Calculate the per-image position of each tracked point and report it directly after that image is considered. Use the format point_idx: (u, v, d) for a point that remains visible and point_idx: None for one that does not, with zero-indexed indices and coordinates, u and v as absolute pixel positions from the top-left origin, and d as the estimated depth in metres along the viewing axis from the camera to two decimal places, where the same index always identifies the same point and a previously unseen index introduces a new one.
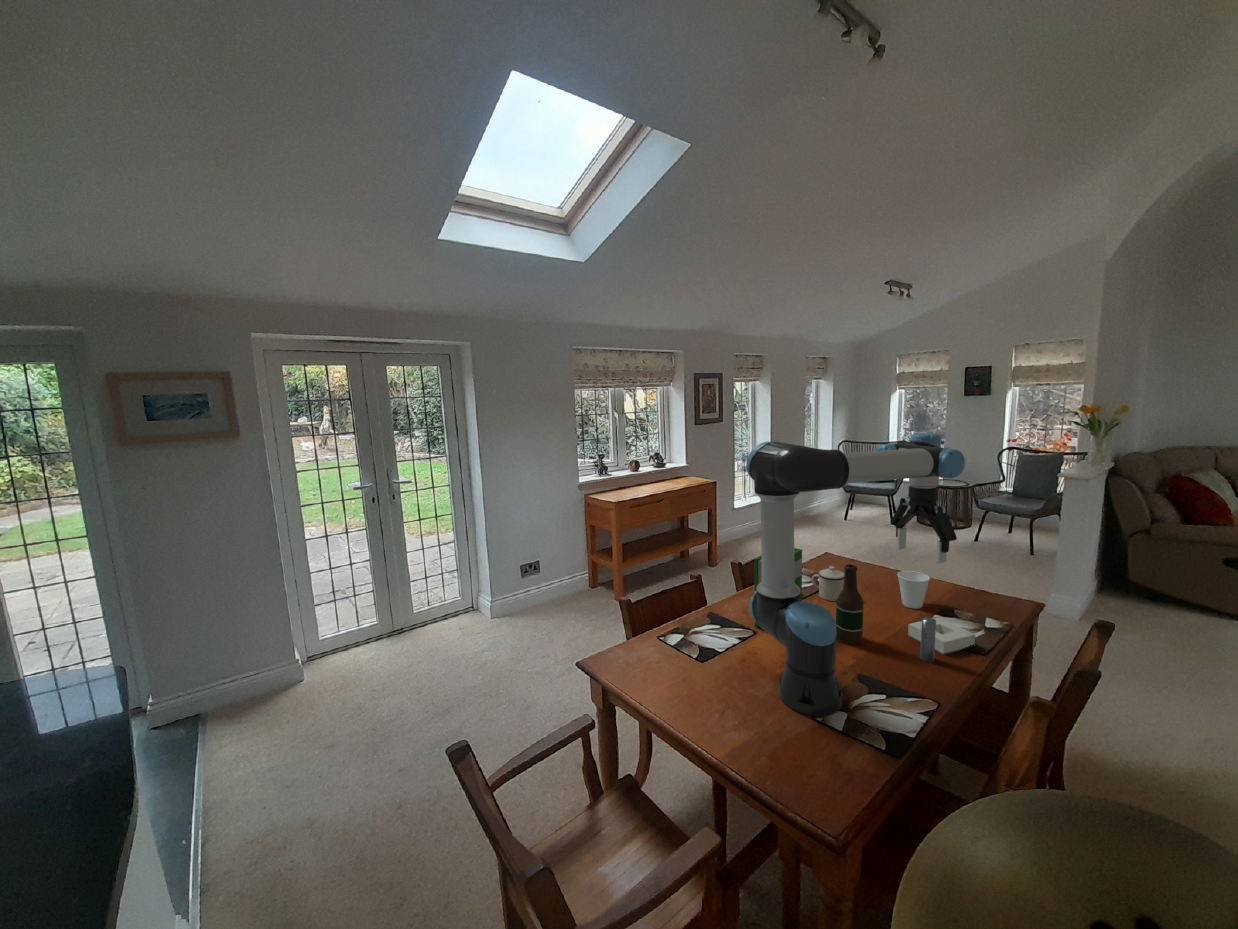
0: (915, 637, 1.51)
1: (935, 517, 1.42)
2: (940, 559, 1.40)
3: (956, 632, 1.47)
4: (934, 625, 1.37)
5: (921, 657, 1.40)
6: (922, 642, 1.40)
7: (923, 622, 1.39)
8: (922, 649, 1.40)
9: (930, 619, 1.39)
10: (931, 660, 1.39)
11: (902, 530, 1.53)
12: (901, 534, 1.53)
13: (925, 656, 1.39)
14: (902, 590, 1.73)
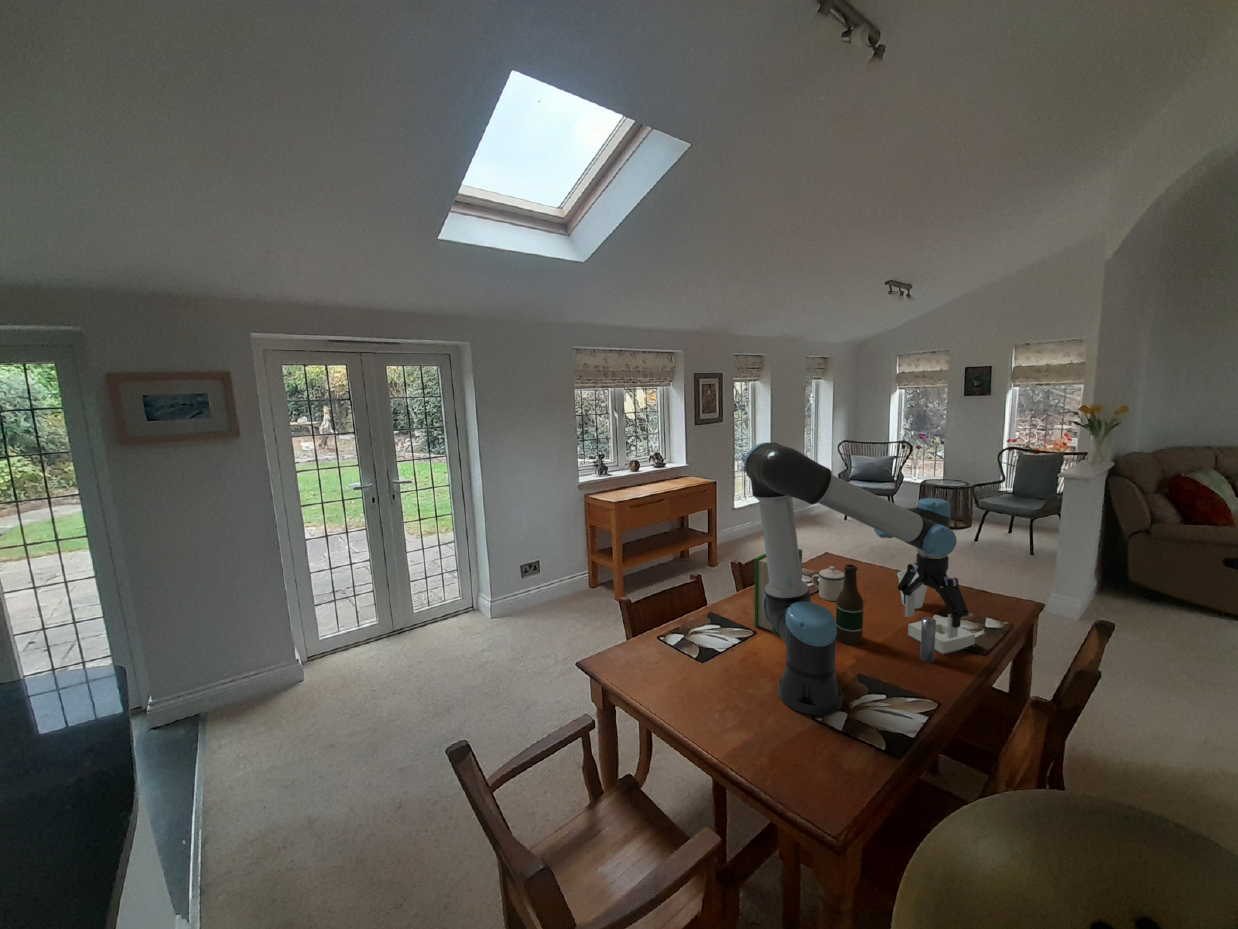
0: (915, 637, 1.51)
1: (945, 589, 1.34)
2: (951, 634, 1.32)
3: None
4: (934, 625, 1.37)
5: (921, 657, 1.40)
6: (922, 642, 1.40)
7: (923, 622, 1.39)
8: (922, 649, 1.40)
9: (930, 619, 1.39)
10: (931, 660, 1.39)
11: (910, 597, 1.44)
12: (909, 601, 1.44)
13: (925, 656, 1.39)
14: None
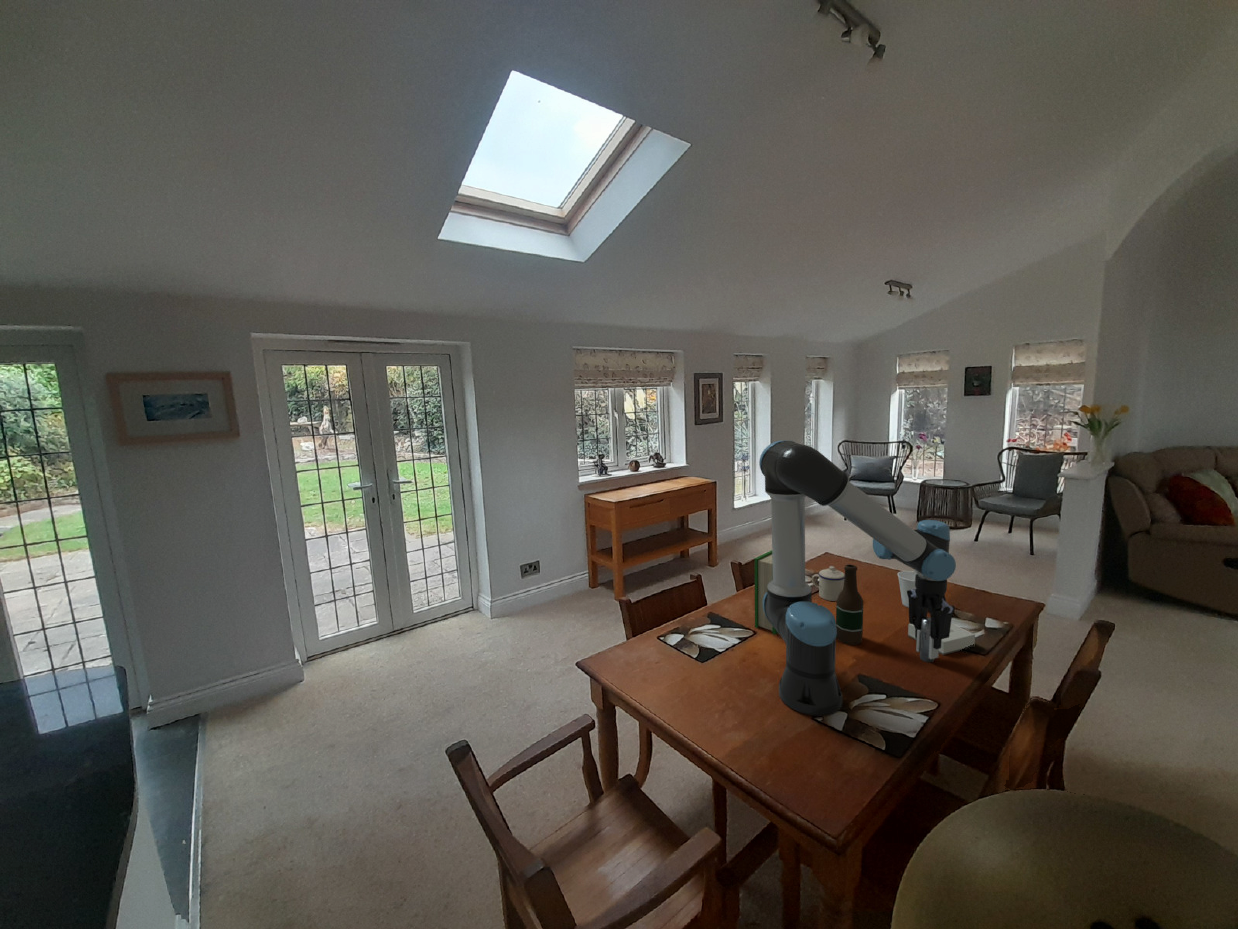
0: None
1: (938, 612, 1.36)
2: (932, 655, 1.38)
3: (956, 632, 1.47)
4: None
5: (921, 657, 1.40)
6: (921, 642, 1.40)
7: (923, 622, 1.39)
8: (922, 649, 1.40)
9: (930, 619, 1.39)
10: (931, 660, 1.39)
11: None
12: None
13: (925, 656, 1.39)
14: (902, 590, 1.73)
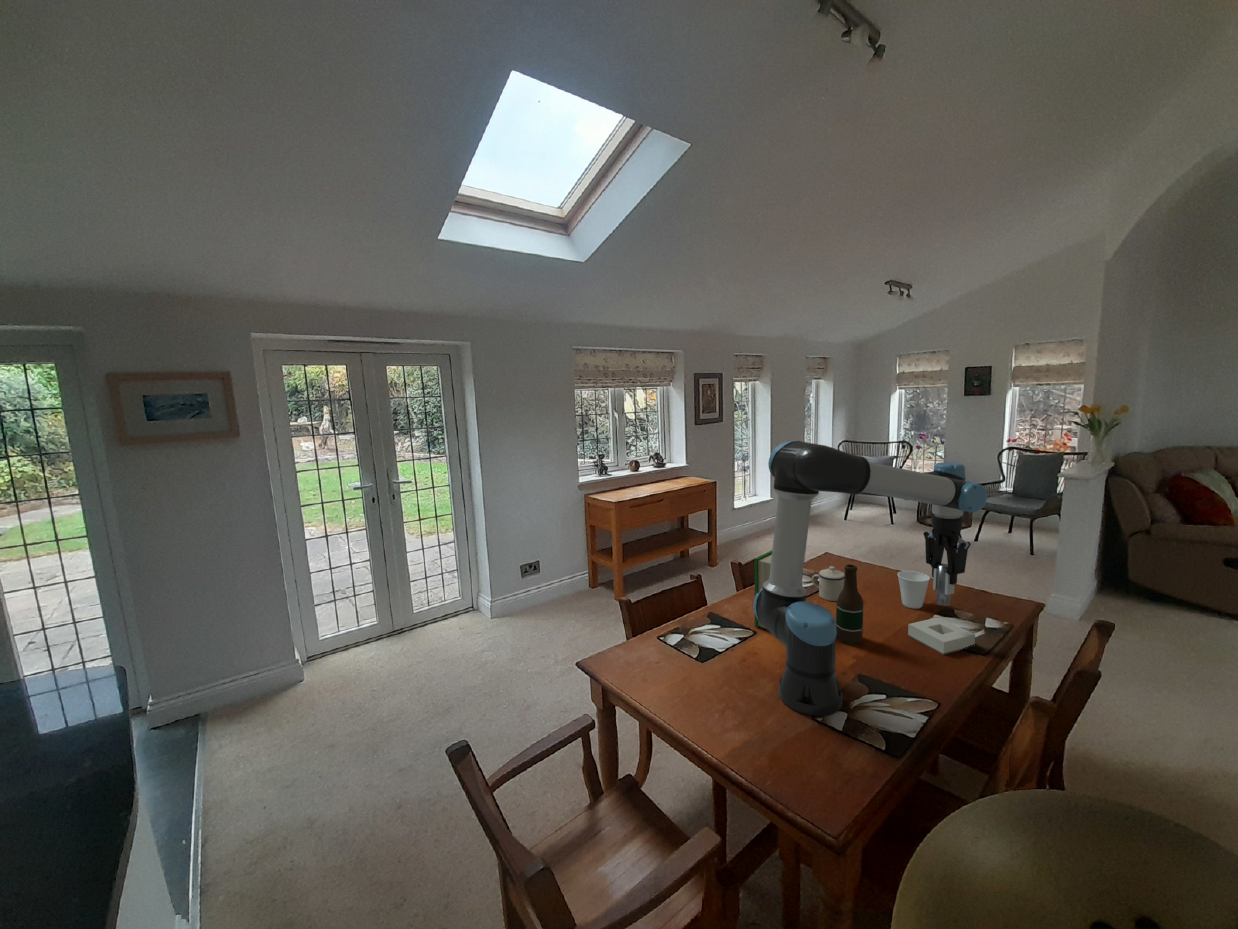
0: (915, 637, 1.51)
1: (954, 549, 1.43)
2: (948, 591, 1.45)
3: (956, 632, 1.47)
4: None
5: (937, 602, 1.48)
6: (938, 587, 1.47)
7: (939, 568, 1.46)
8: (938, 594, 1.47)
9: (946, 565, 1.46)
10: (947, 604, 1.46)
11: None
12: (937, 574, 1.48)
13: (941, 600, 1.47)
14: (902, 590, 1.73)
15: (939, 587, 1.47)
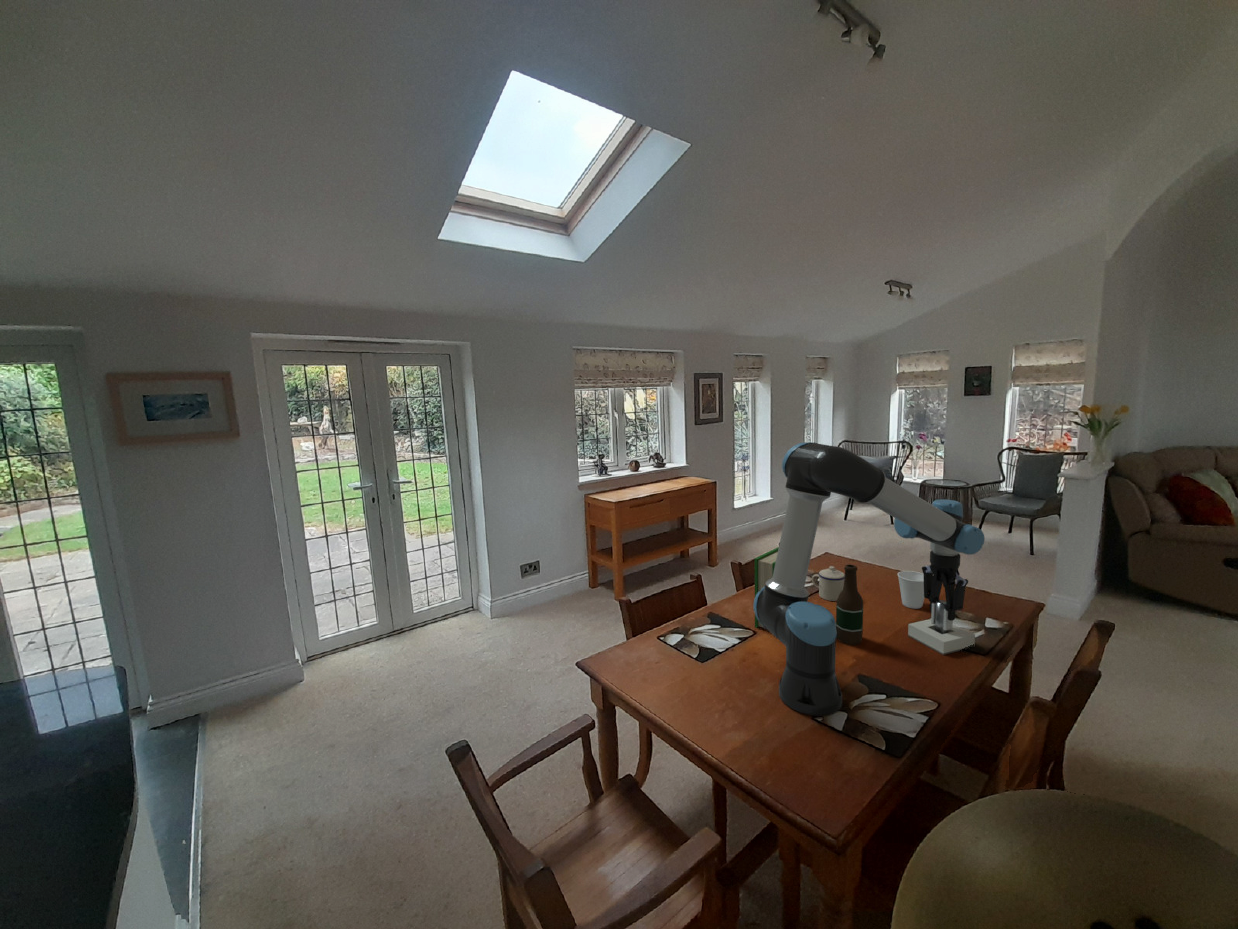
0: (915, 637, 1.51)
1: (952, 585, 1.45)
2: (947, 626, 1.46)
3: (956, 632, 1.47)
4: None
5: None
6: (936, 623, 1.49)
7: (937, 605, 1.48)
8: (936, 630, 1.49)
9: (944, 602, 1.48)
10: None
11: None
12: (935, 609, 1.50)
13: None
14: (902, 590, 1.73)
15: (937, 624, 1.48)
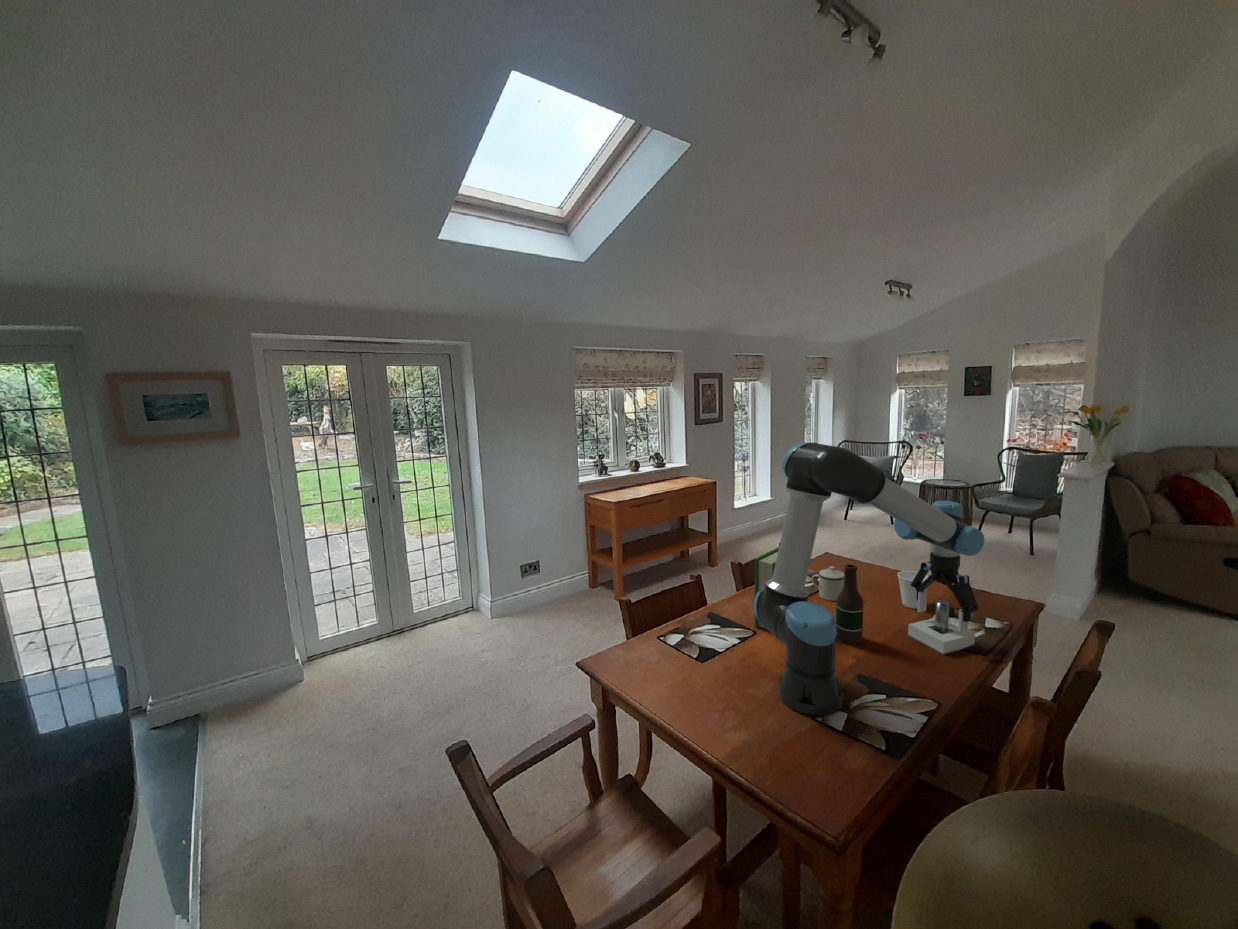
0: (915, 637, 1.51)
1: (957, 585, 1.43)
2: (962, 628, 1.41)
3: (956, 632, 1.47)
4: (948, 607, 1.46)
5: None
6: (936, 623, 1.49)
7: (937, 605, 1.48)
8: (936, 630, 1.49)
9: (944, 602, 1.48)
10: None
11: (923, 593, 1.54)
12: (922, 597, 1.54)
13: None
14: (902, 590, 1.73)
15: (937, 624, 1.48)
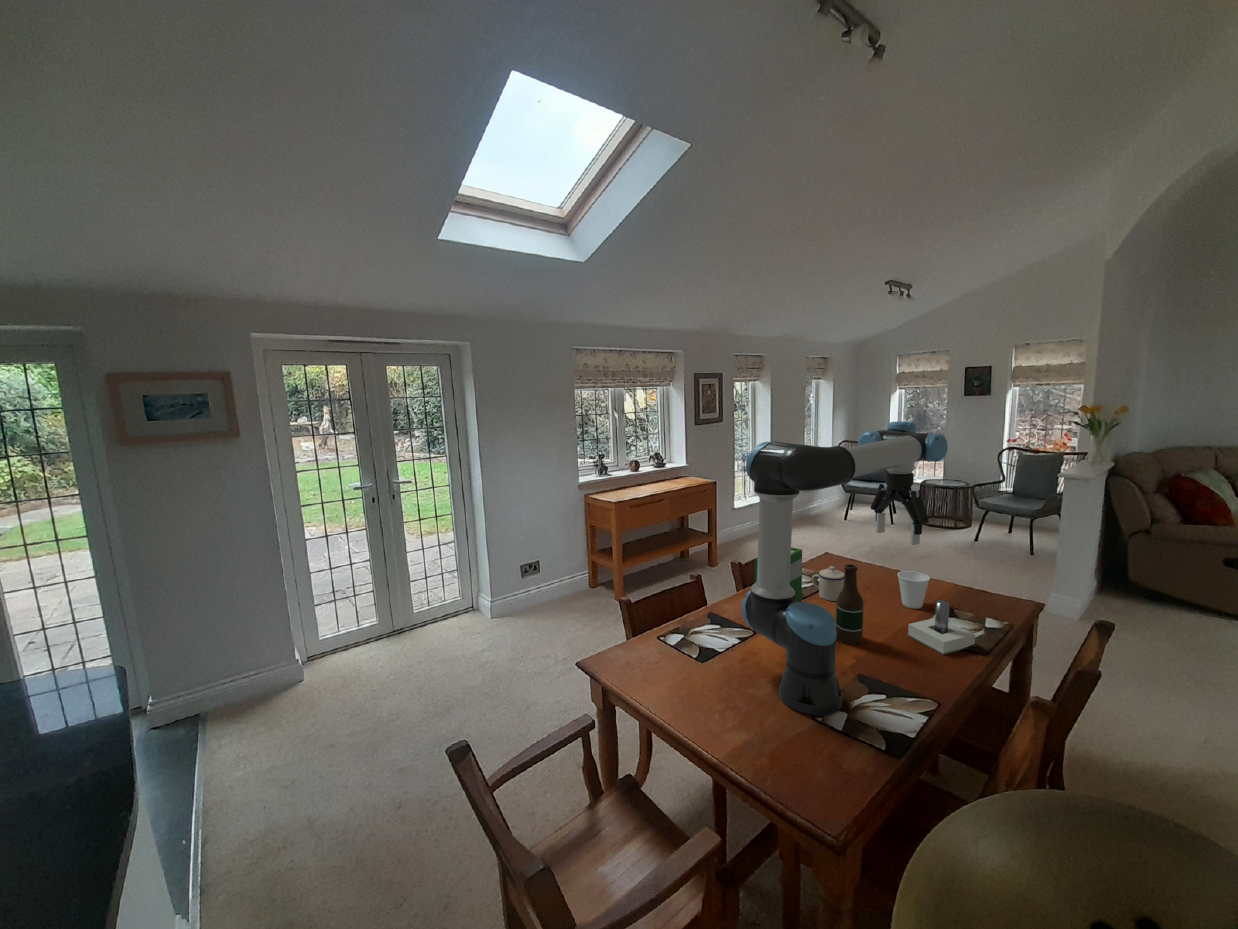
0: (915, 637, 1.51)
1: (910, 501, 1.49)
2: (913, 541, 1.48)
3: (956, 632, 1.47)
4: (948, 607, 1.46)
5: None
6: (936, 623, 1.49)
7: (937, 605, 1.48)
8: (936, 630, 1.49)
9: (944, 602, 1.48)
10: None
11: (881, 515, 1.60)
12: (880, 518, 1.60)
13: None
14: (902, 590, 1.73)
15: (937, 624, 1.48)
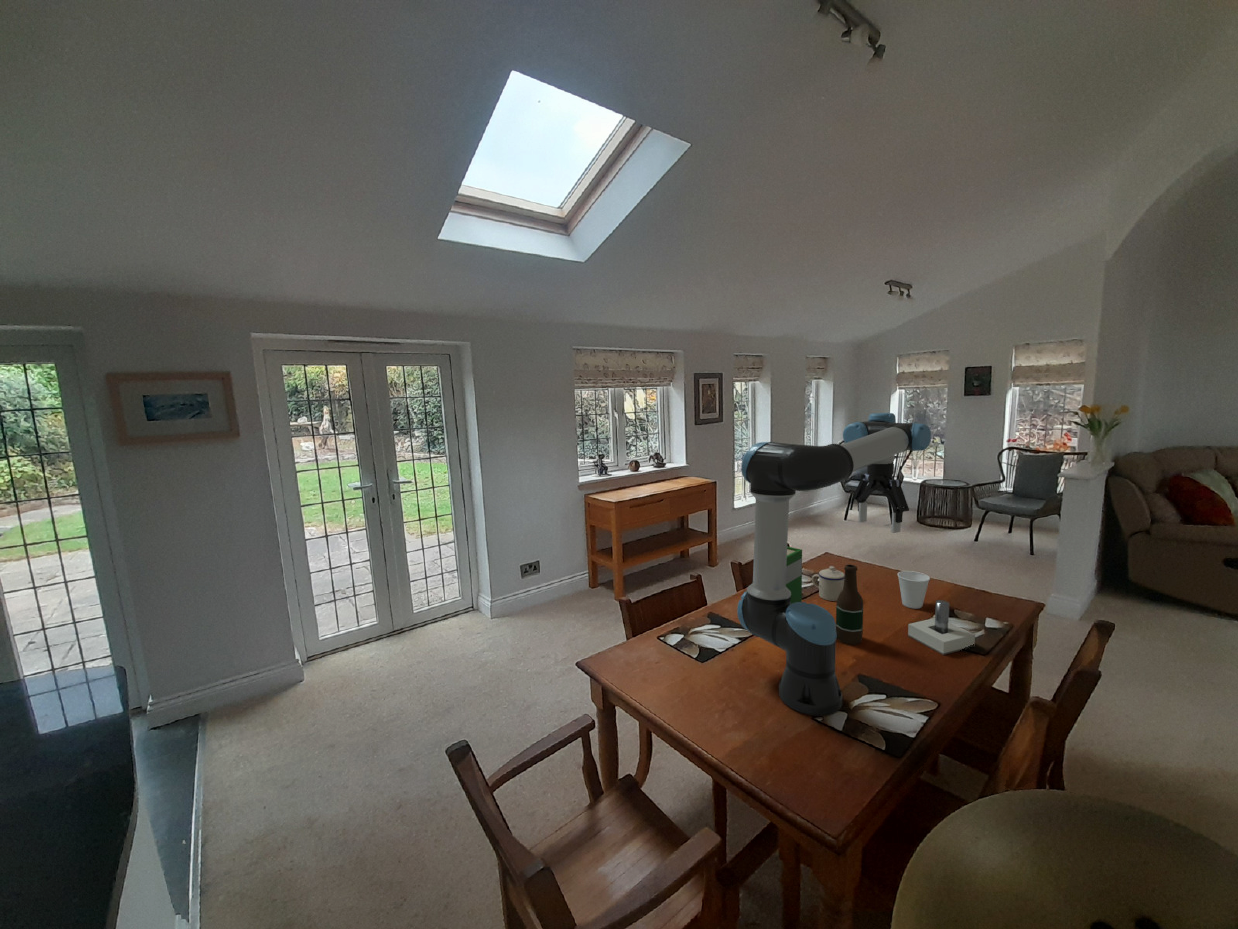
0: (915, 637, 1.51)
1: (890, 490, 1.53)
2: (894, 529, 1.51)
3: (956, 632, 1.47)
4: (947, 607, 1.46)
5: None
6: (936, 623, 1.49)
7: (937, 605, 1.48)
8: (936, 630, 1.49)
9: (944, 602, 1.48)
10: None
11: (863, 504, 1.64)
12: (862, 508, 1.64)
13: None
14: (902, 590, 1.73)
15: (937, 624, 1.48)
